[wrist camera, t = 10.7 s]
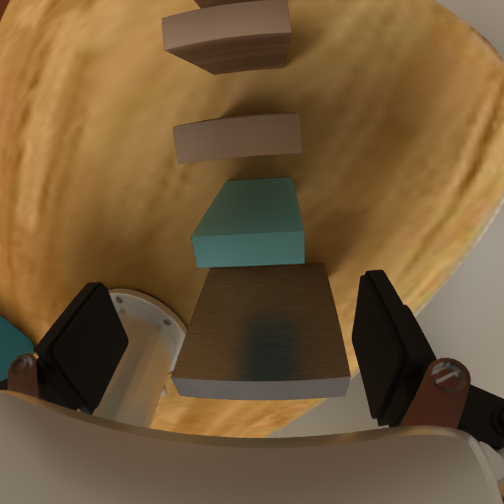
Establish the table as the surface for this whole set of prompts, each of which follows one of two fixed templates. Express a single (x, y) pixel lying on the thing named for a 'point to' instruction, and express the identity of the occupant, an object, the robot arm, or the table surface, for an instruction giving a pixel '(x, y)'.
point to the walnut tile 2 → (218, 2)
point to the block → (11, 346)
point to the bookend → (264, 337)
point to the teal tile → (251, 226)
